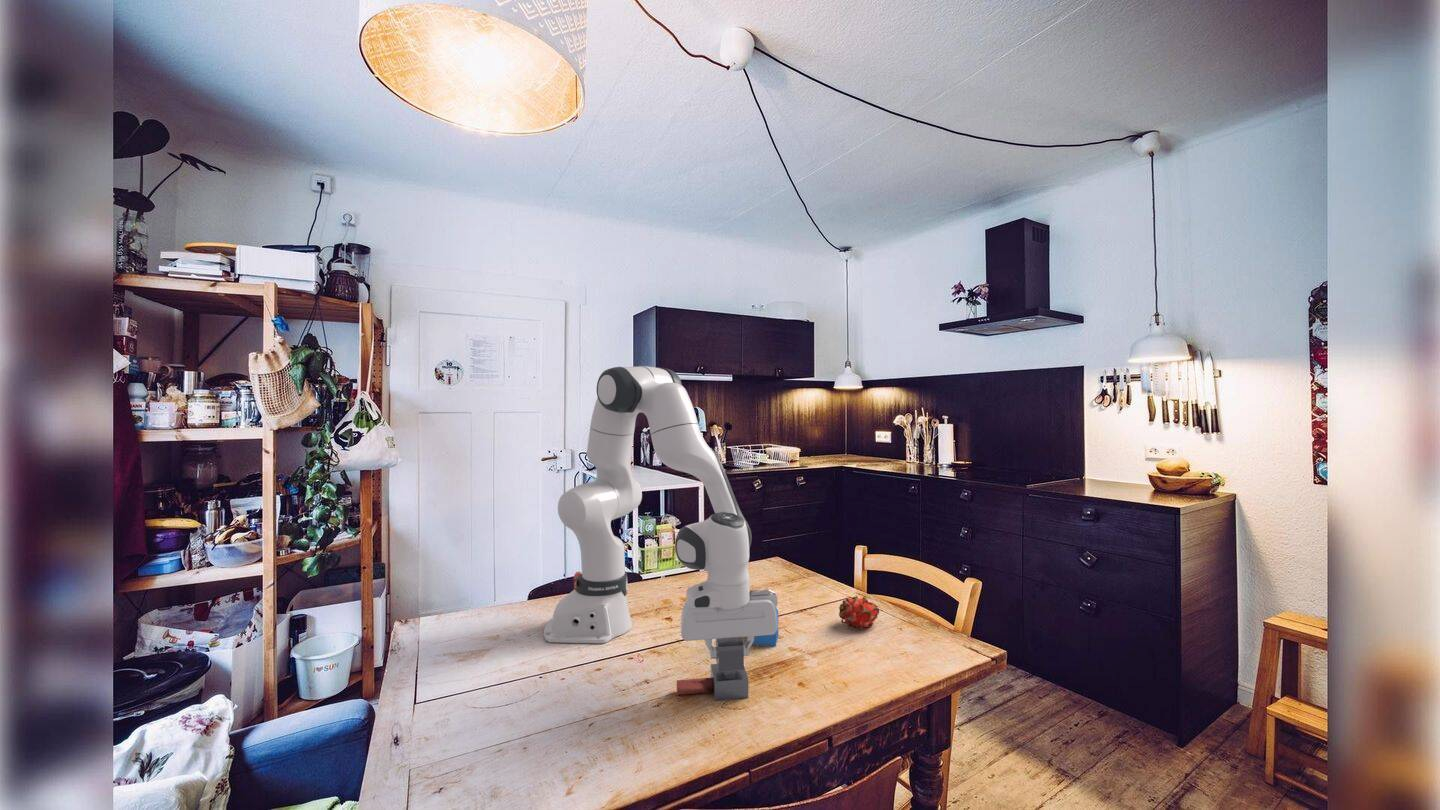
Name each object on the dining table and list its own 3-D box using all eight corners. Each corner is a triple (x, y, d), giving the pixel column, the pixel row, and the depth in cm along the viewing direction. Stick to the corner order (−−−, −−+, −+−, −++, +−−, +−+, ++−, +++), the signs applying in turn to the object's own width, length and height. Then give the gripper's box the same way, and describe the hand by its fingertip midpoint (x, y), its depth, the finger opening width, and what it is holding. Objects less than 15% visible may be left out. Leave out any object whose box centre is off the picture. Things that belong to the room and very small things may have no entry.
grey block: (718, 671, 120) (718, 647, 120) (715, 659, 125) (715, 635, 125) (743, 669, 121) (743, 645, 121) (739, 657, 126) (739, 633, 126)
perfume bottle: (775, 646, 142) (775, 598, 141) (750, 644, 144) (750, 596, 143) (778, 634, 148) (778, 588, 147) (754, 632, 150) (753, 587, 149)
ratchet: (677, 703, 119) (677, 670, 118) (676, 684, 126) (675, 653, 125) (748, 697, 121) (748, 664, 120) (742, 679, 128) (742, 648, 127)
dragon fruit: (834, 633, 152) (874, 634, 155) (849, 626, 145) (891, 626, 149) (828, 600, 157) (868, 601, 160) (843, 591, 150) (884, 592, 153)
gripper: (774, 583, 127) (774, 645, 128) (679, 589, 124) (680, 652, 125) (780, 594, 120) (781, 659, 121) (681, 601, 118) (682, 667, 119)
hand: (729, 656), depth 123 cm, fingers closed on grey block, 5 cm apart
